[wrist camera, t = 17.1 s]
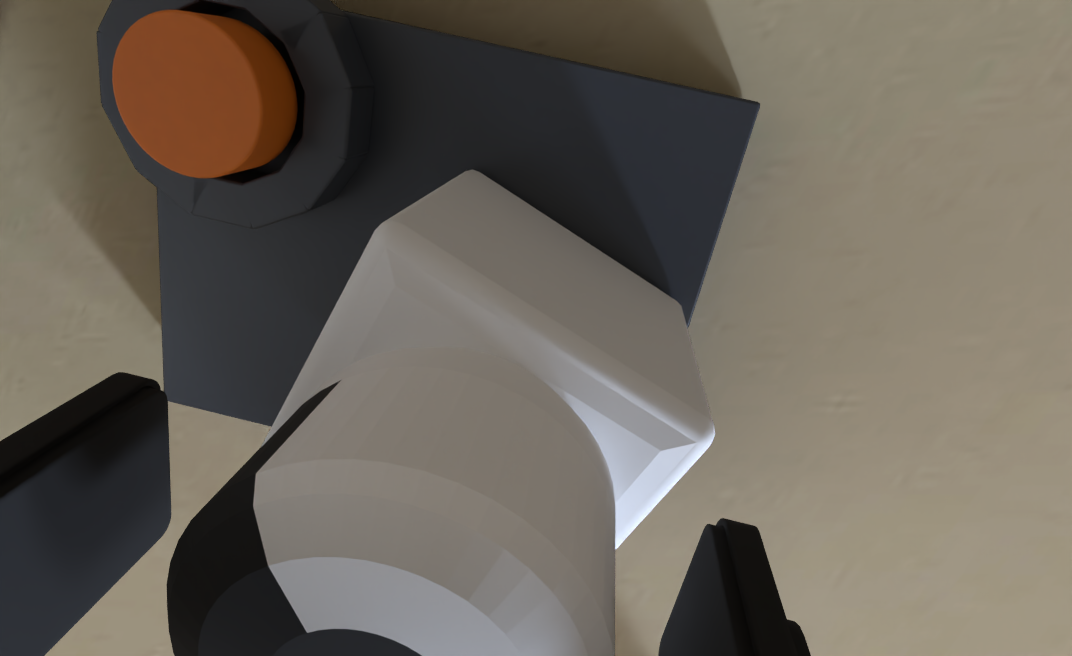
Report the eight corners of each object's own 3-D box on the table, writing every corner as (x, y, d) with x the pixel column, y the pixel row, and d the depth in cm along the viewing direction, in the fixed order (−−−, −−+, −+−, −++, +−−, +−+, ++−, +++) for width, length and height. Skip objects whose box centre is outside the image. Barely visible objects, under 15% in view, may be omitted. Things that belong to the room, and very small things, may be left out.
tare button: (164, 152, 17) (115, 160, 15) (159, 1, 15) (105, -7, 14) (295, 182, 16) (260, 193, 15) (302, 33, 15) (264, 28, 13)
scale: (191, 374, 23) (121, 423, 20) (185, -54, 18) (87, -83, 14) (627, 481, 22) (628, 549, 19) (756, 71, 17) (788, 70, 14)
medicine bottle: (550, 475, 20) (469, 949, 9) (358, 359, 20) (23, 724, 9) (686, 303, 18) (800, 683, 7) (470, 162, 17) (192, 323, 6)
